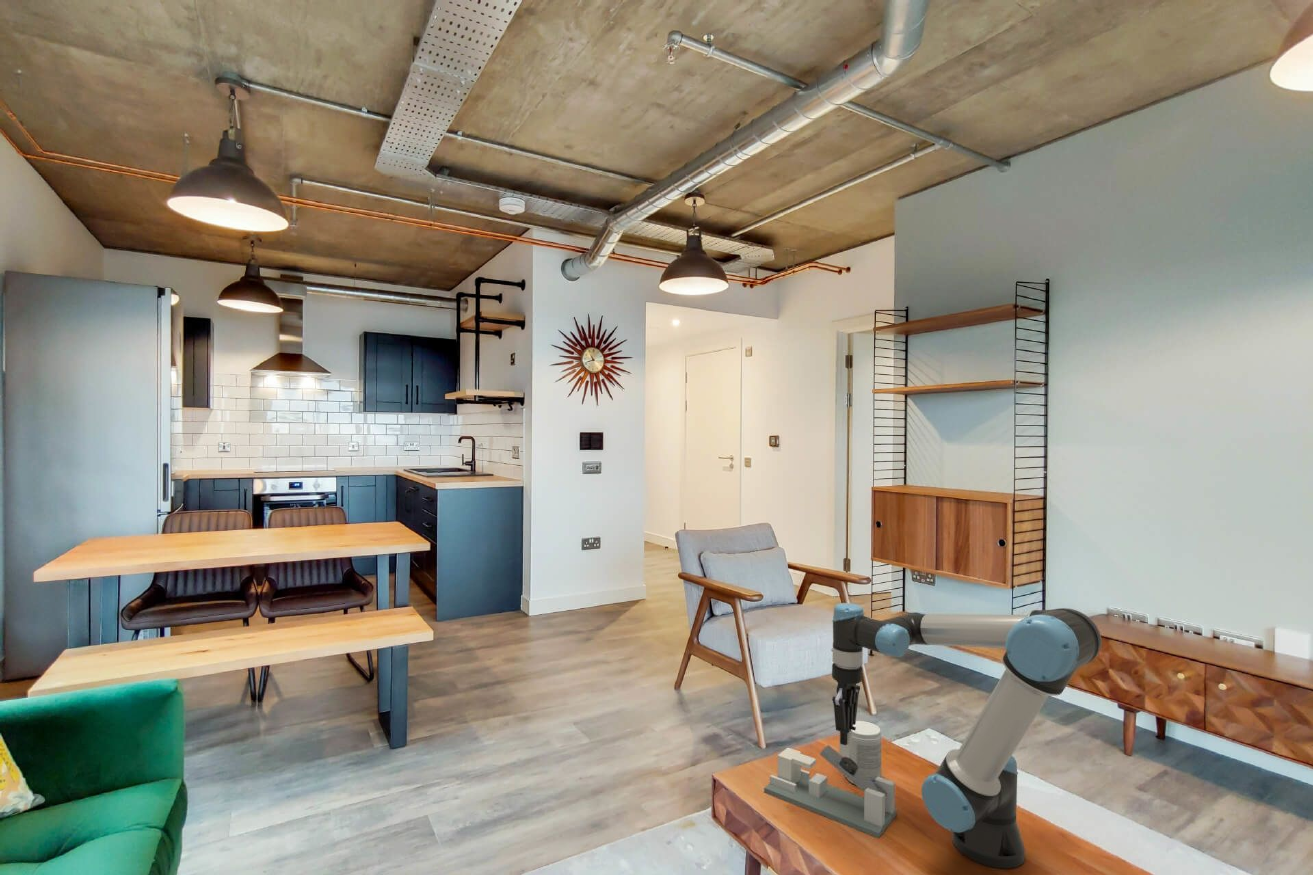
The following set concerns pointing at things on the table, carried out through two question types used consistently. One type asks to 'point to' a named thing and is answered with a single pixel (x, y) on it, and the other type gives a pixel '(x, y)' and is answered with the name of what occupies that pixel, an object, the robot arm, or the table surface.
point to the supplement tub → (867, 749)
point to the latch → (793, 764)
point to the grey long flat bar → (849, 769)
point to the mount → (839, 801)
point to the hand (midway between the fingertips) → (845, 754)
